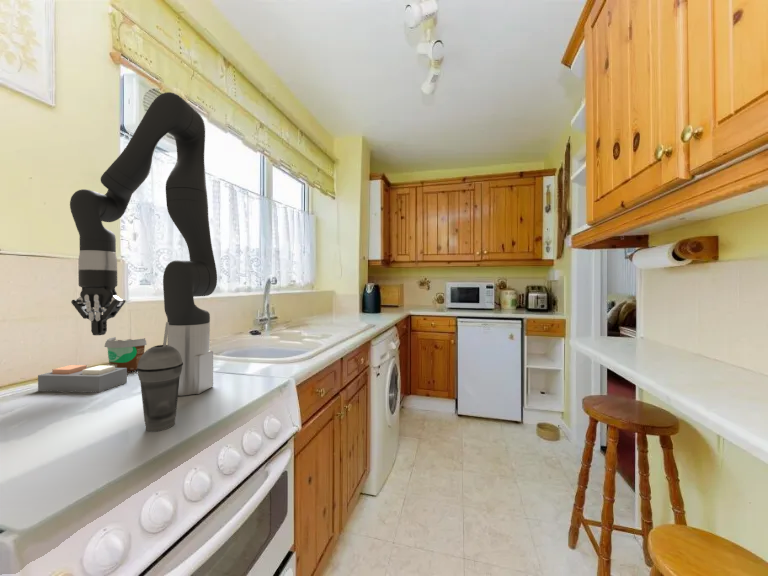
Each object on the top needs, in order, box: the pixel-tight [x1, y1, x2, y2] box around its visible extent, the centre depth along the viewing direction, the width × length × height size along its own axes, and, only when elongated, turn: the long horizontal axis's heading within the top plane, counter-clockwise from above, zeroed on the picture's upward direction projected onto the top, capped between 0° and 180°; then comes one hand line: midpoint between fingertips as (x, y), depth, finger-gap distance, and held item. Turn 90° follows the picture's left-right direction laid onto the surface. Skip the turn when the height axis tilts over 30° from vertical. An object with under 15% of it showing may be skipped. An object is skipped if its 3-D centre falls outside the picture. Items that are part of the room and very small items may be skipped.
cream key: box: [82, 365, 115, 375], centre depth 82 cm, size 4×4×4 cm
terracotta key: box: [51, 364, 88, 374], centre depth 82 cm, size 4×4×4 cm
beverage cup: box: [136, 321, 183, 432], centre depth 60 cm, size 7×7×20 cm
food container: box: [104, 336, 148, 373], centre depth 97 cm, size 12×6×10 cm, turn 81°
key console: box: [37, 366, 128, 393], centre depth 82 cm, size 16×8×4 cm, turn 88°
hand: (99, 334), depth 81 cm, fingers closed
